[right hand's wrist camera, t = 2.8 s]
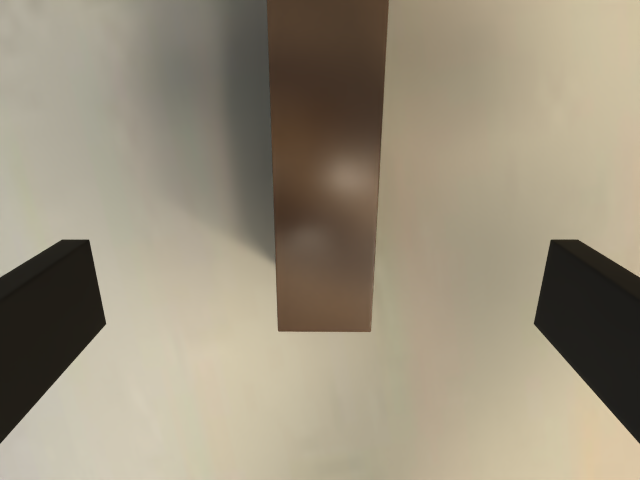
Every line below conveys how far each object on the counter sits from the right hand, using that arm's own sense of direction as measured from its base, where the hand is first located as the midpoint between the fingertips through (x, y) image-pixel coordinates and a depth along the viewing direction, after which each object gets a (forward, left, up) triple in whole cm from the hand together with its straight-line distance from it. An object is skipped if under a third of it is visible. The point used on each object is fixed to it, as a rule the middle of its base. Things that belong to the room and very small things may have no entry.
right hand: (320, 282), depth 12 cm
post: (+17, -19, -16) cm, 30 cm away
